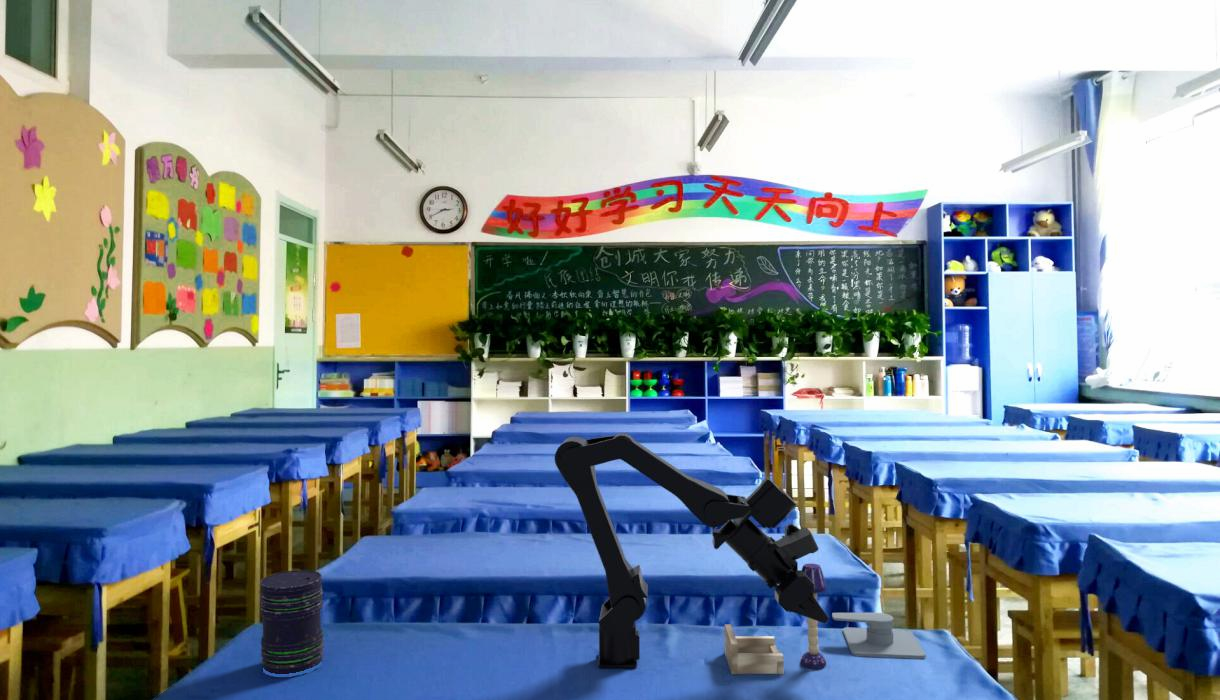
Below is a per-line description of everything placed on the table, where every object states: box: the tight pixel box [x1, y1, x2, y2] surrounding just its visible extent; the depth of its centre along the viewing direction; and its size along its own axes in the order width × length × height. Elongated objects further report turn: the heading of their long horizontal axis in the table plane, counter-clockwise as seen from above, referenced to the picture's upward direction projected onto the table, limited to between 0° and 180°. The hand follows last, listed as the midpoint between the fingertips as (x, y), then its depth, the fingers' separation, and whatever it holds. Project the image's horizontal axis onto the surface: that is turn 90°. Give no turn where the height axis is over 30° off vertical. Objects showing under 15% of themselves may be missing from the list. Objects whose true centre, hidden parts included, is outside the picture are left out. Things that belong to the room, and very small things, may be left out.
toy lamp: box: [800, 563, 827, 670], centre depth 141 cm, size 5×5×17 cm
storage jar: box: [259, 569, 324, 674], centre depth 141 cm, size 10×10×15 cm
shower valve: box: [831, 612, 927, 660], centre depth 150 cm, size 12×6×15 cm
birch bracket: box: [724, 623, 785, 675], centre depth 141 cm, size 8×9×5 cm
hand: (820, 611), depth 141 cm, fingers open, 9 cm apart
